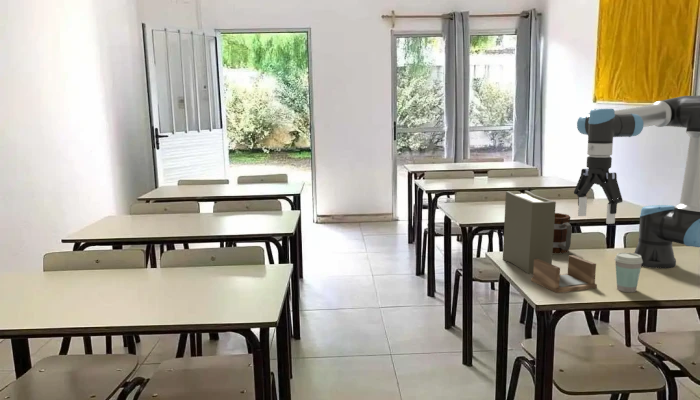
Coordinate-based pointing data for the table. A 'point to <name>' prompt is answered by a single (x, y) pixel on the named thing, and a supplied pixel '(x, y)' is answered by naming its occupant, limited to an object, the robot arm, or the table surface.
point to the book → (528, 230)
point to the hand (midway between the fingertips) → (595, 219)
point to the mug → (562, 233)
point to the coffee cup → (627, 271)
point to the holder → (565, 275)
